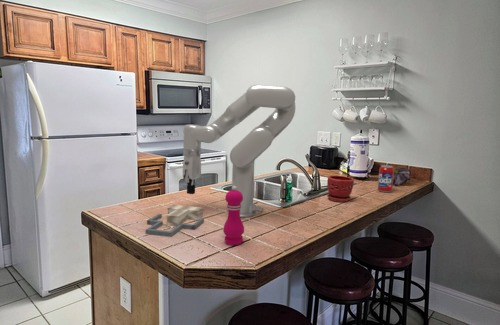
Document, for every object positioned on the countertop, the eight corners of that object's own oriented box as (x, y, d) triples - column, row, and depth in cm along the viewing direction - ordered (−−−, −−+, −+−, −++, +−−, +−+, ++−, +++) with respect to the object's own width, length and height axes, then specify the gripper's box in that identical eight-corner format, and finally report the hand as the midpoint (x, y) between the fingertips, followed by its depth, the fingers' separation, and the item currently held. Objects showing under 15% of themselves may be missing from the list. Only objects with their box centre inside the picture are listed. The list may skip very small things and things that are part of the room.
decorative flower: (381, 167, 218) (404, 161, 216) (383, 182, 222) (405, 176, 221) (390, 177, 204) (414, 171, 203) (392, 193, 209) (416, 187, 208)
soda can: (393, 190, 194) (395, 165, 192) (390, 193, 188) (393, 167, 185) (379, 189, 198) (381, 164, 196) (376, 191, 192) (378, 166, 189)
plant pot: (343, 204, 163) (344, 181, 162) (321, 199, 173) (322, 176, 171) (357, 200, 172) (358, 177, 170) (335, 195, 182) (337, 174, 180)
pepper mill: (223, 238, 118) (223, 183, 115) (243, 237, 118) (244, 183, 115) (223, 246, 111) (223, 188, 108) (244, 245, 111) (245, 188, 108)
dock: (203, 222, 134) (203, 218, 134) (184, 238, 117) (184, 234, 117) (159, 217, 139) (159, 213, 139) (133, 232, 122) (133, 228, 122)
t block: (202, 216, 141) (202, 207, 141) (188, 227, 128) (188, 217, 127) (173, 213, 145) (173, 204, 144) (156, 223, 131) (156, 214, 131)
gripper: (192, 155, 136) (191, 198, 139) (206, 151, 150) (205, 190, 153) (176, 154, 138) (175, 196, 141) (191, 150, 152) (190, 189, 155)
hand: (190, 193), depth 147 cm, fingers closed
